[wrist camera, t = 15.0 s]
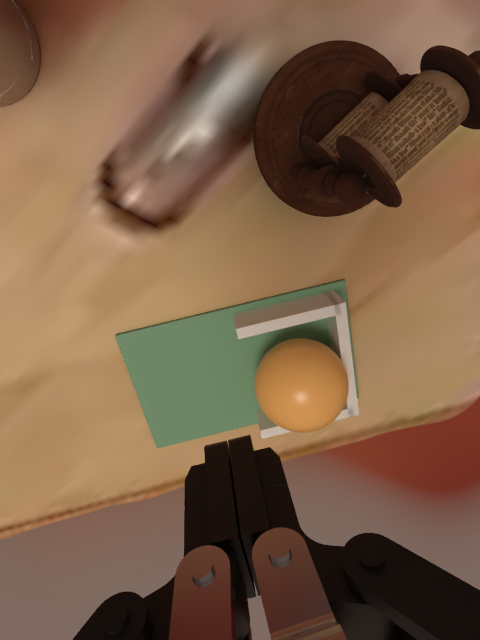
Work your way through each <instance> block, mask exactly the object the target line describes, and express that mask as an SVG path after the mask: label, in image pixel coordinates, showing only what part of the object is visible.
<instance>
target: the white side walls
mask: <svg viewBox="0 0 480 640" xmlns="http://www.w3.org/2000/svg"><path fill="white" fill-rule="evenodd" d="M232 316H233V320H234V324H235V328H236V332H237V336H238V339H242V338H246V337H250V336H254V335H258V334H262V333H266V332H270V331H275V330H279V329H283V328H287V327H291V326H295V325H299V324H303V323H307V322H311V321H316V320H320V319H324V318H327V324H328V332H329V339H330V346H331V349H332V350H333V351H334V352H335V353H336V354H337V356H338V357H339V358H340V359H341V361H342V363H343V364H344V367H345V369H346V372H347V375H348V382H349V391H348V397H347V401H346V404H345V406H344V408H343V410H342V411H341V413H340V414H339V416H338V417H337V418H336V419H335V420H334V421H336V420H340V419H344V418H348V417H352V416H356V415H359V410H358V402H357V393H356V385H355V377H354V368H353V360H352V352H351V343H350V335H349V326H348V318H347V310H346V302H345V301H344V300H343V299H342V298H341V297H340V296H339V295H338V294H337V293H336V292H335V291H334V290H331V291H327V292H323V293H318V294H314V295H310V296H306V297H302V298H298V299H294V300H290V301H285V302H281V303H277V304H273V305H269V306H265V307H261V308H257V309H252V310H248V311H244V312H240V313H236V314H232ZM255 411H256V415H257V419H258V423H259V427H260V432H261V436H262V439H263V438H268V437H272V436H276V435H280V434H284V433H288V432H292V431H289V430H286V429H283V428H281V427H279V426H278V425H276V424H275V423H273V422H272V421H271V420H270V419H269V418H268V417H267V416H266V415H265V414H264V412H263V411H262V409H259V410H255Z"/></svg>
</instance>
